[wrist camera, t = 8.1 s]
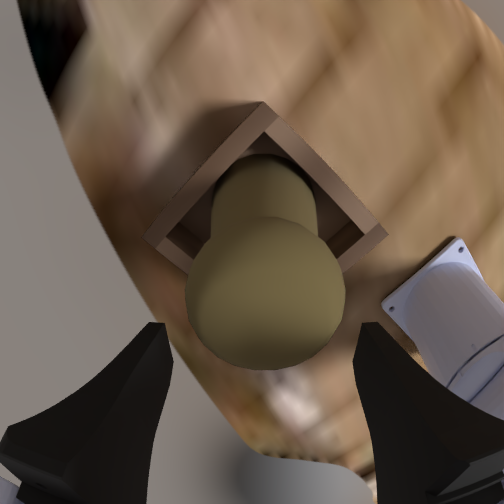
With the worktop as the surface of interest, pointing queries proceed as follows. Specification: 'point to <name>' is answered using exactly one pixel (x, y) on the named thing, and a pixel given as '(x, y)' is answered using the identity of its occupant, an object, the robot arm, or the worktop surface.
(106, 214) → the worktop surface
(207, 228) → the holder
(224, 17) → the worktop surface
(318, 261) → the cork
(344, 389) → the worktop surface
